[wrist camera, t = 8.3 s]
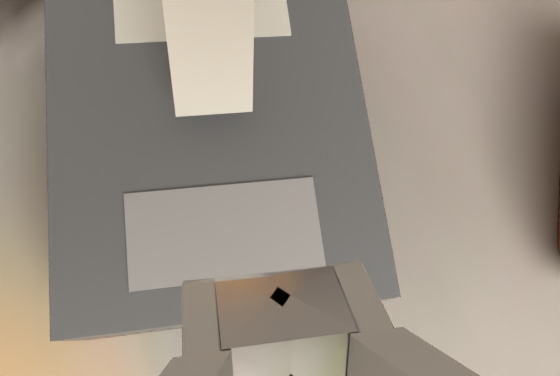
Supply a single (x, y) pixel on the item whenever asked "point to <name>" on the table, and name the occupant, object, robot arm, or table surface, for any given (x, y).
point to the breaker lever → (210, 55)
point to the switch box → (200, 165)
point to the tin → (559, 225)
